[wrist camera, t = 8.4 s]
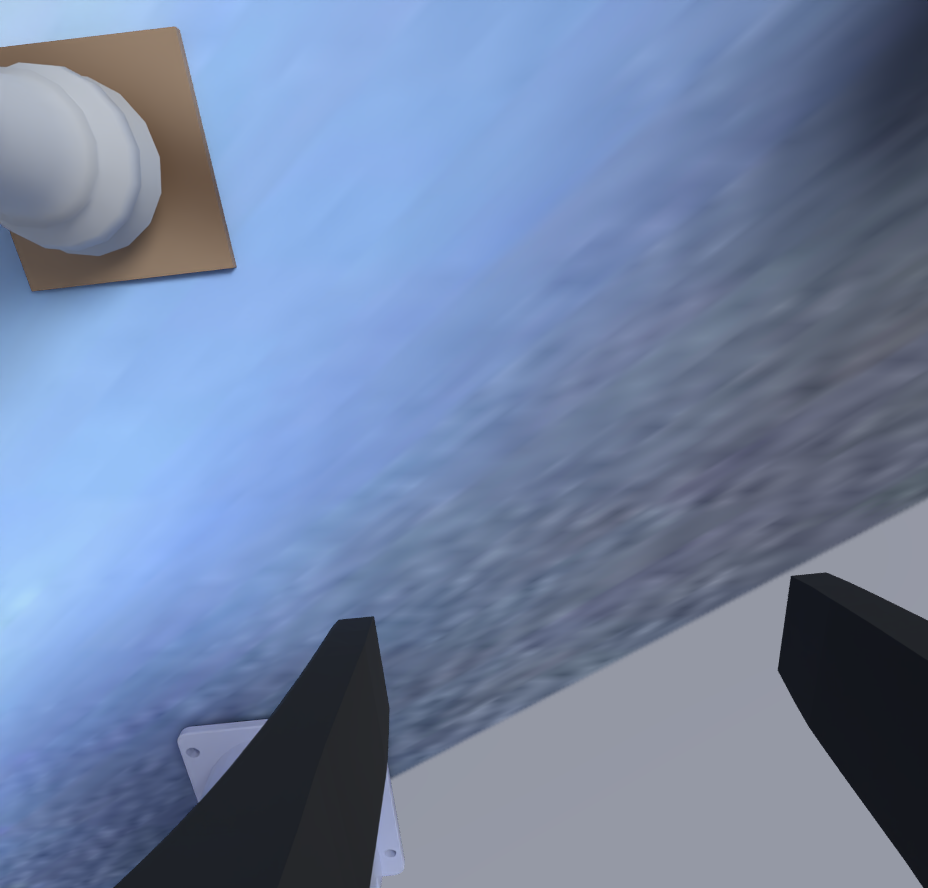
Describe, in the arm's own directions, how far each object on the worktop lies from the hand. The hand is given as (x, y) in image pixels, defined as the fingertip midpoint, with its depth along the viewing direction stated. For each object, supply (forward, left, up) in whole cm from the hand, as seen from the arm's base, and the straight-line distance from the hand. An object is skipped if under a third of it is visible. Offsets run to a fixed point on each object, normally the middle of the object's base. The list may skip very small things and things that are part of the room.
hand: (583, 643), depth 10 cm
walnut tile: (+9, +11, -11) cm, 18 cm away
